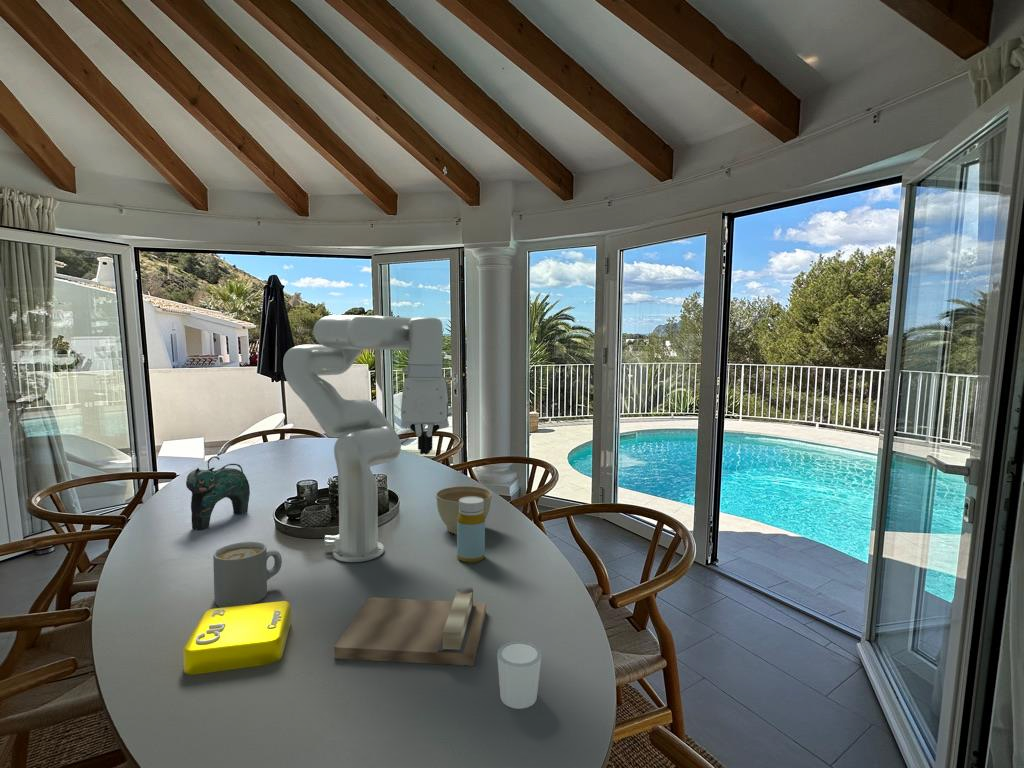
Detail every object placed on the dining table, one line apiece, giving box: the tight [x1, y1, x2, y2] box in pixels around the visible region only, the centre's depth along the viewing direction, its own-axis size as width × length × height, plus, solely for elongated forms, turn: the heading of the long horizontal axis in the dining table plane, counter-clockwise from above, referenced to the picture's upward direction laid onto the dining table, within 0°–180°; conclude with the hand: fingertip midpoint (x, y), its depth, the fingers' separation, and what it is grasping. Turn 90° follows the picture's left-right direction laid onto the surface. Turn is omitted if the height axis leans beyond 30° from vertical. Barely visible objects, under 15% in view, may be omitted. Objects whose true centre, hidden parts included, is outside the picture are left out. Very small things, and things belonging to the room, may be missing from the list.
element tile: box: [182, 600, 292, 676], centre depth 94 cm, size 15×15×5 cm
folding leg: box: [443, 586, 474, 650], centre depth 98 cm, size 17×3×3 cm, turn 177°
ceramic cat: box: [185, 456, 251, 531], centre depth 159 cm, size 20×6×20 cm, turn 161°
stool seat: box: [333, 597, 487, 667], centre depth 99 cm, size 24×18×2 cm
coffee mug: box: [212, 541, 283, 608], centre depth 113 cm, size 13×10×10 cm
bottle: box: [456, 496, 486, 563], centre depth 134 cm, size 7×7×15 cm
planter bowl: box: [435, 485, 493, 535], centre depth 154 cm, size 16×16×11 cm
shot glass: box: [496, 640, 543, 710], centre depth 81 cm, size 7×7×7 cm
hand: (425, 452), depth 121 cm, fingers closed
